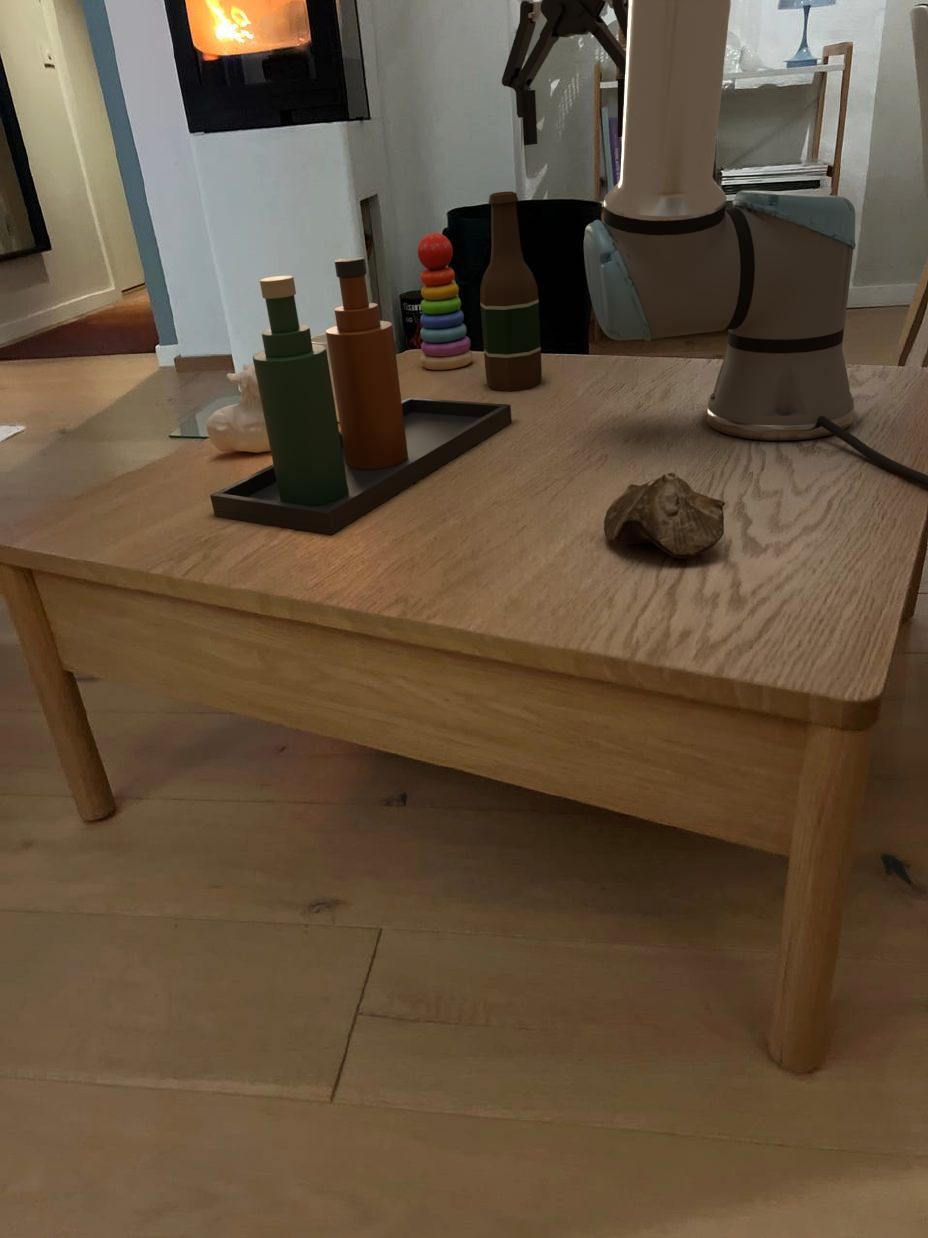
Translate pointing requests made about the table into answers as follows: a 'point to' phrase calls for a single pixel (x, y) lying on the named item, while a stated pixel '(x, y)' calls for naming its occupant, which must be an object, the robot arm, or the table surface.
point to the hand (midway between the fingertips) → (576, 140)
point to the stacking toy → (441, 308)
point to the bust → (241, 418)
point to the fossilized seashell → (666, 517)
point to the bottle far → (298, 403)
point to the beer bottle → (509, 305)
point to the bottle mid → (365, 375)
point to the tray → (430, 444)
